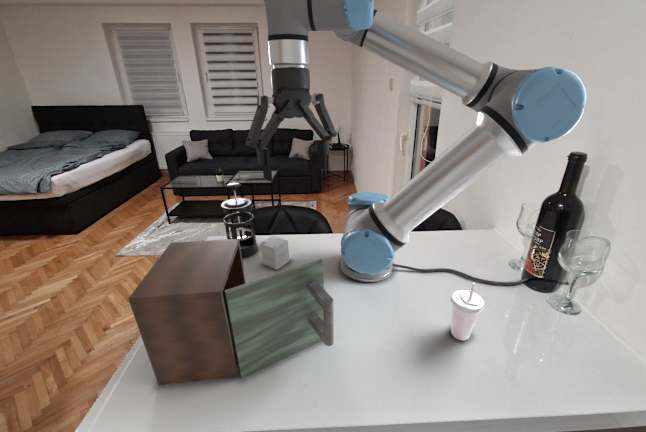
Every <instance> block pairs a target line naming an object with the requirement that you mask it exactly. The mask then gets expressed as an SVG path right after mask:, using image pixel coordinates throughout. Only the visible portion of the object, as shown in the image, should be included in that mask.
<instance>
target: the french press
mask: <svg viewBox="0 0 646 432" xmlns="http://www.w3.org/2000/svg"><path fill="white" fill-rule="evenodd" d="M241 186H242V183H240V182H231V183H228V184H226V188H229V189H232V191H233V193H234V198H230V199H227V200H224V201H223V202H222V203H221V204H220V207H221V208H222V209H223V213H226V212H227V211H236V212H233V213H230V214H227V215H225V217H223V219H222V220H223V225H224V227H225V234H226V240H228V239H239V241H240V248H241V255H242V259H245V258H246V259H247V258H250V257H252V256H254V255H255V254H256V253H258V251H259V246H258V244H257V238H256V229H255V223H254V221H255V219H254V218H255V217H254V215H253V213H251V212H250V211H251V210H252V209H251V207H252V206H251V205H252V203H253V202H252V200H251V199H249V198H246V197H237V193H236V191H237V188H240V187H241ZM236 217H237V220H238V223H237V222H236V223H230V222H228V220H230V219H233V218H236ZM240 217H241V219H242V222H241V221H240ZM241 246H247V247H241Z"/></svg>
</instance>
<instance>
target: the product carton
mask: <svg viewBox="0 0 646 432" xmlns="http://www.w3.org/2000/svg"><path fill="white" fill-rule="evenodd" d="M259 248H260V254H261V255H260V256H261V262H262V265H263V266H266V267H269V268H271V269H274V270H276V271H277V270H279V269H280V268H282V267H283V266H286V264H288V263H289V262H290V261H291V260H290V259H291V258H290V249H289V248H290V247H289V241H288V239H285V238H281V237H278V236H275V235H272V236H270V237H268V238H267V239H265V240H263V241H262V242H260V243H259Z"/></svg>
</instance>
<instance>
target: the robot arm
mask: <svg viewBox="0 0 646 432" xmlns="http://www.w3.org/2000/svg"><path fill="white" fill-rule="evenodd" d="M374 3H375V0H263V4H264V12H265V22H266V31H267V45H268V59H269V65H270V66H272V67H273V68H271V70H270V81H271V82H270V83H271V90H272V95H271V96H267V95H264V94H258V95H257V96H256V110H255V113H254V115H253V118H252V122H251V125H250V127H249V131H248V134H247V137H246V140H245V144H246V145H247V146H248V147H251V148H255V151H256V159H257V164H259V165H260V166H262V173H263V174H262V176H263V179H265V180H266V181H267V182H272V181H273V174H272V161H271V153H270V149H269V148H267V145H268V144H269V142H270V141H271V139H272V138H273V136H274V134H275V133H276V131H277V129H278V128H279V127H280V124H281V123H282V122H284V120H285V119H290V120H291V119H294V118H298V119H301V118H303V119H304V120H305V121H306V122H307V124H308V125H309V126H310V127H311V129H312V130H313V131H314V132H315V134H316V135H317V136H318V137H319V139H317V140H316V144H317V145H316V148H317V149H316V151H317V168H318V169H320V170H322V171H328V155H329V154H330V142H332V141H333V138H336V137H337V135H338V133H337V130H336V128H335V126H334V124H333V121H332V118H331V116H330V113H329V112H328V110H327V107H326V104H325V95H324V94H323V93H321V92H320V93H319V92H317V93H316V92H314V93H313V94H311V92H310V88H311V74H310V70H309V68H307V66H309V65H310V49H309V32H333V33H334V35H336V37H337V38H339V39H340V40H342V41H344V42H349V43H350V44H352V45H355V46H357V47H359V48H362V49H364V50H365V51H367V52H370V53H371V54H373V55H375V56H377V57H380V58H381V59H383V60H385V61H388V62H390V63H391V64H392V65H393V64H394V65H396V66H397V67H399V68H401V69H403V70H405V71H407V72H409V73H411V74H413V75H414V76H417V77H419V78H421V79H422V80H425V81H427V82H429V83H431V84H433V85H435V86H437V87H439V88H441V89H443V90H445V91H447V92H449V93H451V94H453V95H455V96H457V97H459V98H460V99H461V102H462V105H464V106H466V107H468V108H470V109H471V110H473V111H475V112H476V119H475V123H474V125H472V126H471V127H470V128H469V129H468V130H467V131H466V132H465V133H464V134H462V135H461V136H460V137H459V138H458V139H456V140H455V141H454V142H453V143H452V144H451V145H449V146H448V147H447V148H446V149H445V150H444V151H442V152H441V153H440V154H439V155H438V156H437V157H436V158H435V159H433V160H432V161H430V163H429V164H428V165H426V166H425V167H424V168H423V169H422V170H421V171H419V172H418V173H416V174H415V175H414V177H412V178H411V179H409V181H408V182H407V183H405V184H404V185H403V186H402V187H401V188H399V189H398V190H397V191H396V192H395V193H394V194H393V195H392V196H391V197H390V196H389V195H387V194H385V193H380V192H371V191H364V192H363V191H361V192H355V193H352V194H350V195H349V196H348V200H347V218H346V221H345V226H344V230H343V233H342V237H341V240H340V254H341V262H340V269H341V271H342V273H343V274H344V276H346V277H348V278H349V279H351V280H352V281H357V282H360V283H376V282H381V281H384V280H386V279H388V278H389V277H390V276H391V275H392V273H393V269H394V267H395V268H400V269H406V270H411V271H417V272H423V273H432V272H451V273H454V274H457V275H461V276H463V277H465V278H468V279H471V280H474V281H477V282H481V283H486V284H492V285H503V286H510V285H512V286H513V285H520V284H522V283H525V282H527V281H529V280H528V279H527V278H528V277H525V278H523V279H520V280H516V281H495V280H489V279H482V278H478V277H475V276H473V275H470V274H468V273H465V272H462V271H460V270H456V269H452V268H443V267H441V268H440V267H439V268H428V269H427V268H426V269H425V268H417V267H412V266H408V265H407V266H406V265H401V264H398V263H397V264H396V263H394V262H393V260H394V259H395V258H394V257H395V253H396V252H397V251H398V250H399V249H401V248H403V246H405V245H406V244H407V243H408V242H410V233H411V232H412V231H413V230H414V229H415V228H417V227H418V226H419V225H420V224H422V223H423V222H424V221H425V220H426V219H428V218H429V217H431V216H432V215H433V214H434V213H436V212H437V211H438V210H440V209H441V208H442V207H443V206H445V205H446V204H447V203H448V202H450V201H451V200H452V199H454V198H455V197H456V196H458V195H459V194H460V193H462V191H464V190H465V189H467V188H468V187H469V186H470V185H472V184H473V183H475V182H476V180H478V179H479V178H481V177H482V176H483V175H485V174H486V173H487V172H488V171H490V170H491V169H492V168H494V166H496V165H497V164H498V163H500V162H501V161H502V160H503V159H505V158H508V157H521V156H522V155H523V154H525V153H527V151H529V150H530V149H532V148H533V147H534V146H536V145H537V144H538V143H543V144H544V143H549V142H553V141H556V140H559V139H561V138H563V137H564V136H566V135H567V134H569V133H570V132H571V131H572V130H573V129H574V128H575V127H576V126H577V124H579V122H580V120H581V118H582V116H583V115H584V113H585V106H586V102H587V92H586V87H585V84H584V83H583V81H582V80H581V78H580V77H579V76H578V75H577V74H576V73H574V72H573V71H571V70H568V69H566V68H559V67H556V66H543V67H540V68H536V69H535V68H534V69H532V68H531V69H515V68H508V67H504V66H501V65H499V64H496V63H495V62H492V61H490V60H489V61H486V62H484V63H482V62H480V61H478V60H476V59H474V58H472V57H470V56H468V55H466V54H464V53H462V52H461V51H459V50H457V49H455V48H452V47H451V46H448V45H446V44H445V43H443V42H440V41H439V40H437V39H435V38H433V37H431V36H429V35H427V34H425V33H423V32H421V31H419V30H417V29H415V28H413V27H411V26H409V25H407V24H405V23H403V22H401V21H400V20H398V19H396V18H393V17H392V16H390V15H388V14H386V13H384V12H382V11H380V10H378V9H375V7H374ZM311 104H312V105H313V106H314V110H315V111H316V114H317V116H318V118H319V120H320V121H319V120H318V118H317V117H316V116H315V113H314V112H313V111H312V110H311V108H310V106H311ZM271 105H273V107H274V110H273V112H272V113H271V117H270V119H269V120H268V122H267V123H266V125H265V126H264V123H265V120H266V117H267V115H268V111H269V108H271ZM263 126H264V128H263ZM262 129H263V130H262Z"/></svg>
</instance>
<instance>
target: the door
mask: <svg viewBox="0 0 646 432" xmlns="http://www.w3.org/2000/svg"><path fill="white" fill-rule="evenodd" d="M324 277H325V275H324V260H322V259H321V258H319V259H316V260H314V261H311V262H308V263H305V264H301V265H298V266H295V267H293V268H290V269H286V270H283V271H280V272H277V273H274V274H270V275H268V276H265V277H262V278H259V279H255V280H253V281H249V282H246V284H243V285H240V286H237V287H234V288H231V289H227V290H225V296H226V301H227V306H228V312H229V317H230V322H231V328H232V333H233V338H234V343H235V349H236V354H237V359H238V365H239V369H238V371H239V374H240V377H241V379H243V378H246V377H248V376H250V375H253V374H254V373H256V372H259V371H261V370H262V369H264V368H267V367H269V366H271V365H273V364H275V363H277V362H280V361H281V360H283V359H286V358H287V357H290V356H292V355H294V354H296V353H298V352H300V351H303V350H305V349H307V348H308V347H311V346H313V345H316V344H317V343H319V342H323V345H325V346H326V347H331V346H333V345H334V342H335V341H334V339H335V338H334V336H335V335H334V332H335V331H334V330H335V329H334V328H335V327H334V298H333V297H332V296H331V295H330V294H329V293H328V292H327V291H326V290H325V284H324V283H325V282H324V281H325V280H324V279H325V278H324Z"/></svg>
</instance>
